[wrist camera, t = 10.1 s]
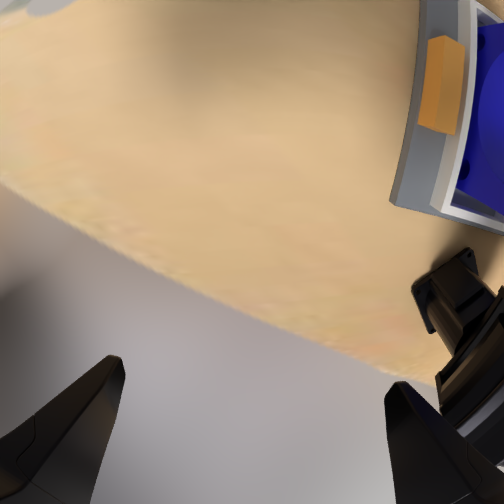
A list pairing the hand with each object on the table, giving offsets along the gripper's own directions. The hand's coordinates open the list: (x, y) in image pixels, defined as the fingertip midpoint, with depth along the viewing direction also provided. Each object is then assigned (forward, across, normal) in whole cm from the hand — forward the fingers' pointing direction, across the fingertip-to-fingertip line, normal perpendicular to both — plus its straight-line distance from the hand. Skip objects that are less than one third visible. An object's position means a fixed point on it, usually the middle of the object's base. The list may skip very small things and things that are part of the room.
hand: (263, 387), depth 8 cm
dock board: (+12, -19, -12) cm, 26 cm away
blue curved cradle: (+11, -14, -12) cm, 22 cm away
